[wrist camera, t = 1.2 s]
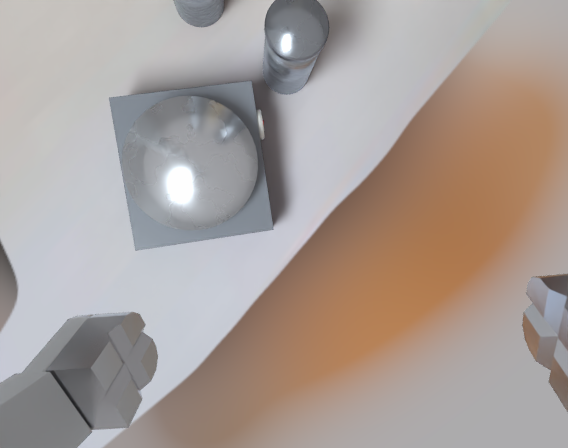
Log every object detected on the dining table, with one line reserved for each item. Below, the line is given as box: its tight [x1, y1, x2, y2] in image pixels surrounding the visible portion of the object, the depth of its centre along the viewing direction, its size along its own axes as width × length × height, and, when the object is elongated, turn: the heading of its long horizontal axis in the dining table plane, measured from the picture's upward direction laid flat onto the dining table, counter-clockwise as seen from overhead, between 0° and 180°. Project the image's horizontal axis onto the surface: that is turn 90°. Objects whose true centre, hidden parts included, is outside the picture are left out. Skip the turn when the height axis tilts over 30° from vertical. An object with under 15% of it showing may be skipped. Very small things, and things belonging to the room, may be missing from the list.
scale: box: [109, 81, 274, 251], centre depth 33 cm, size 13×13×3 cm
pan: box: [122, 96, 258, 231], centre depth 31 cm, size 11×11×1 cm
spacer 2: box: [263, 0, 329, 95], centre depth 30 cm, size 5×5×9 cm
